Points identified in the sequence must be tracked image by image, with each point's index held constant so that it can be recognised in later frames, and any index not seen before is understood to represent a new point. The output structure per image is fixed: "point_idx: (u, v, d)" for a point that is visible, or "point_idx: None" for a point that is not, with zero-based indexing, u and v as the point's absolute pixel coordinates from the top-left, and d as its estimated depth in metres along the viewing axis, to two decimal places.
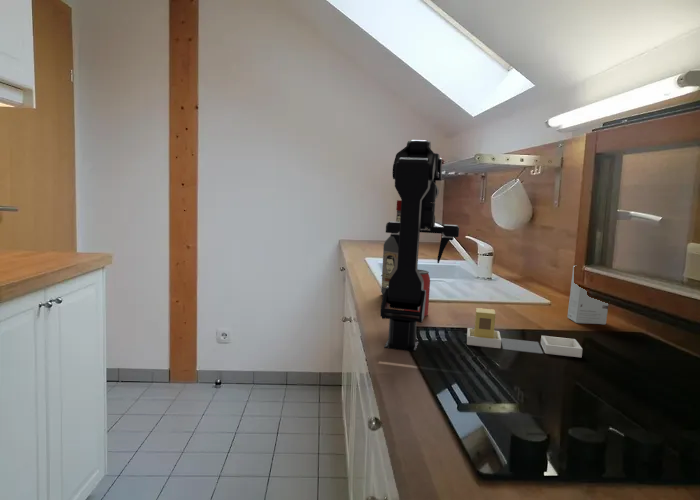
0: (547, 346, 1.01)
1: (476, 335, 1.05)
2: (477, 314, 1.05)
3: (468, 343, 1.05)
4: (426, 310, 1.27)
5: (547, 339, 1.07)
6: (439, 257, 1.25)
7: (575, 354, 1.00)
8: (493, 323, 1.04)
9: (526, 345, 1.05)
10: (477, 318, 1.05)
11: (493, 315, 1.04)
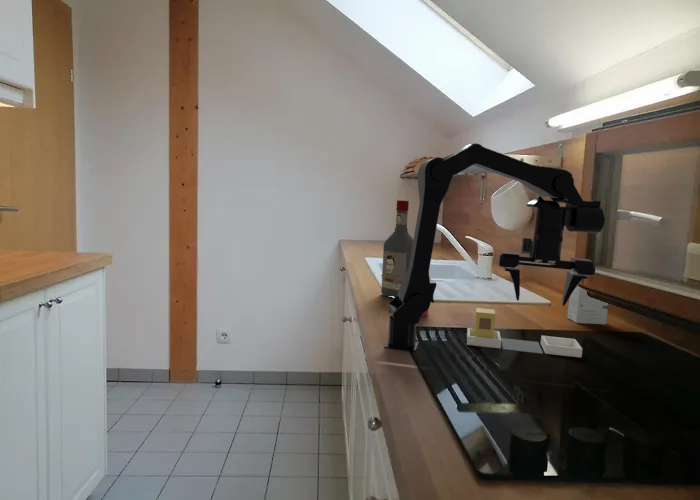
0: (547, 346, 1.01)
1: (476, 335, 1.05)
2: (477, 314, 1.05)
3: (468, 343, 1.05)
4: None
5: (547, 339, 1.07)
6: (566, 299, 1.01)
7: (575, 354, 1.00)
8: (493, 323, 1.04)
9: (526, 345, 1.05)
10: (477, 318, 1.05)
11: (493, 315, 1.04)
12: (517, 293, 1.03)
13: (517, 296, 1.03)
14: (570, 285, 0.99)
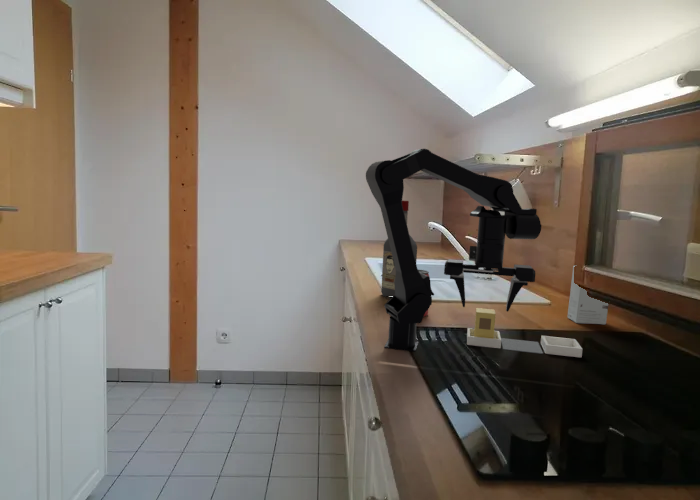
0: (547, 346, 1.01)
1: (476, 335, 1.05)
2: (477, 314, 1.05)
3: (468, 343, 1.05)
4: None
5: (547, 339, 1.07)
6: (509, 305, 1.04)
7: (575, 354, 1.00)
8: (493, 323, 1.04)
9: (526, 345, 1.05)
10: (477, 318, 1.05)
11: (493, 315, 1.04)
12: (463, 300, 1.06)
13: (463, 303, 1.06)
14: (512, 291, 1.02)
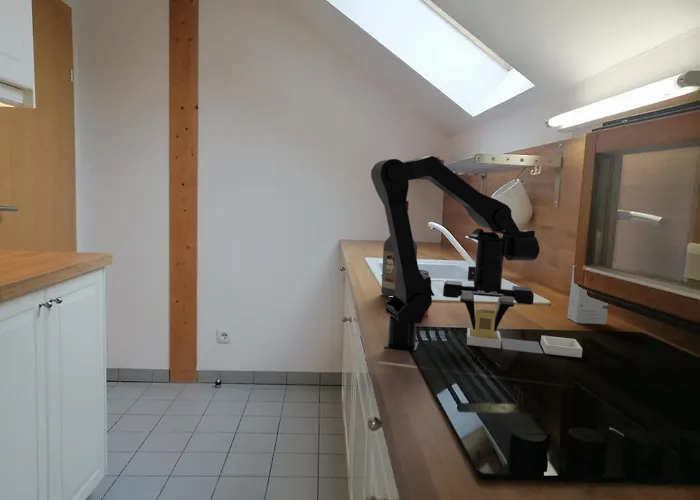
0: (547, 346, 1.01)
1: (476, 335, 1.05)
2: (477, 314, 1.05)
3: (468, 343, 1.05)
4: None
5: (547, 339, 1.07)
6: (496, 325, 1.05)
7: (575, 354, 1.00)
8: (493, 323, 1.04)
9: (526, 345, 1.05)
10: (477, 318, 1.05)
11: (493, 315, 1.04)
12: (473, 323, 1.06)
13: (473, 325, 1.07)
14: (498, 312, 1.04)
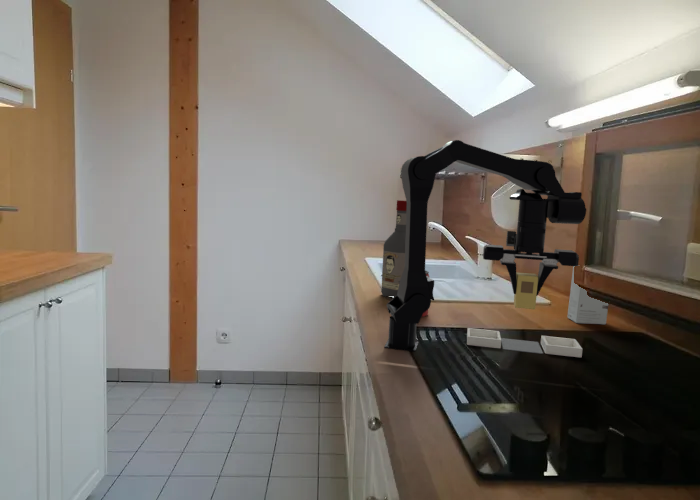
0: (547, 346, 1.01)
1: (518, 299, 1.03)
2: (519, 277, 1.02)
3: (468, 343, 1.05)
4: None
5: (547, 339, 1.07)
6: (538, 289, 1.02)
7: (575, 354, 1.00)
8: (535, 286, 1.01)
9: (526, 345, 1.05)
10: (519, 281, 1.02)
11: (536, 278, 1.01)
12: (514, 287, 1.03)
13: (514, 290, 1.04)
14: (541, 275, 1.01)
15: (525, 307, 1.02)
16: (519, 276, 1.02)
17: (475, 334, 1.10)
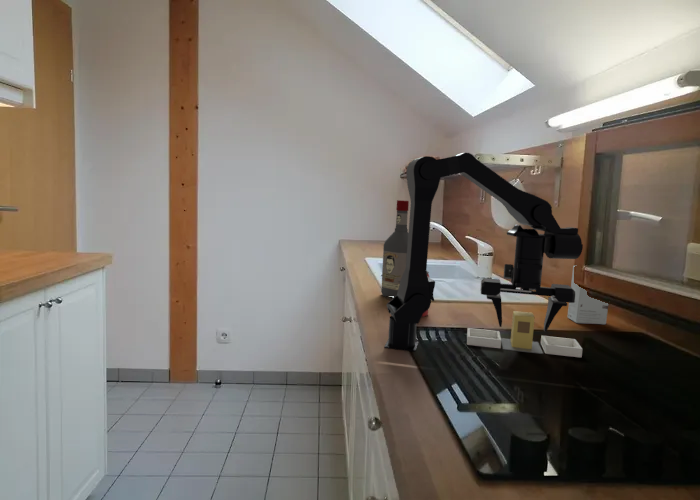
0: (547, 346, 1.01)
1: (514, 339, 1.04)
2: (515, 317, 1.03)
3: (468, 343, 1.05)
4: None
5: (547, 339, 1.07)
6: (547, 325, 1.03)
7: (575, 354, 1.00)
8: (532, 326, 1.03)
9: None
10: (515, 321, 1.03)
11: (532, 318, 1.02)
12: (500, 320, 1.05)
13: (500, 323, 1.05)
14: (551, 312, 1.01)
15: (522, 347, 1.03)
16: (516, 316, 1.03)
17: (475, 334, 1.10)
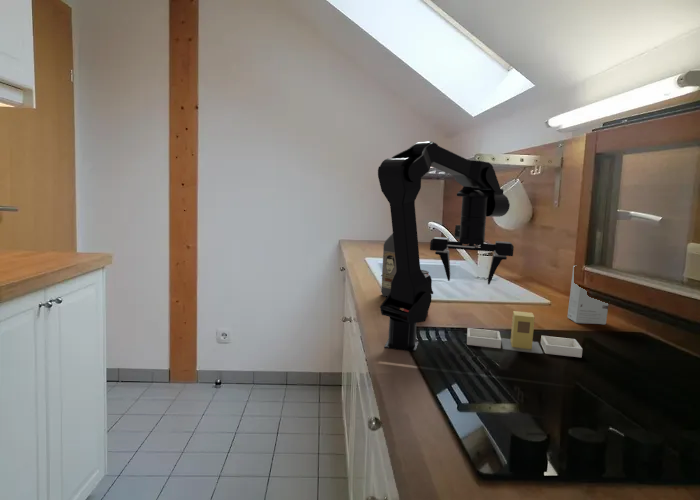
0: (547, 346, 1.01)
1: (514, 339, 1.04)
2: (515, 317, 1.03)
3: (468, 343, 1.05)
4: None
5: (547, 339, 1.07)
6: (490, 278, 1.12)
7: (575, 354, 1.00)
8: (532, 326, 1.03)
9: None
10: (515, 321, 1.03)
11: (532, 318, 1.02)
12: (448, 274, 1.15)
13: (448, 277, 1.15)
14: (492, 265, 1.11)
15: (522, 347, 1.03)
16: (516, 316, 1.03)
17: (475, 334, 1.10)
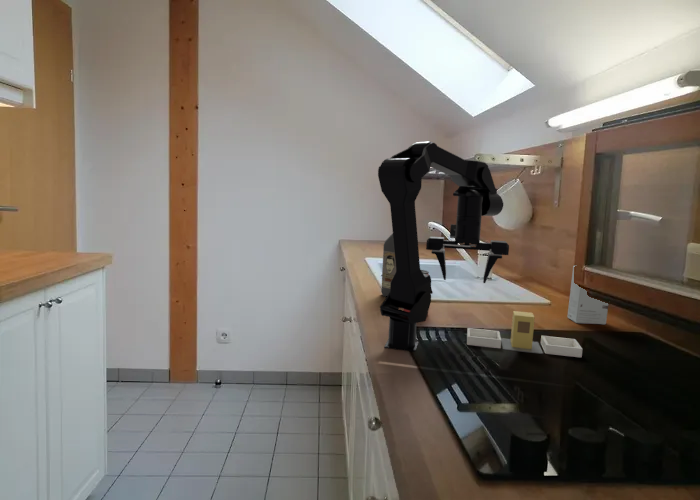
0: (547, 346, 1.01)
1: (514, 339, 1.04)
2: (515, 317, 1.03)
3: (468, 343, 1.05)
4: None
5: (547, 339, 1.07)
6: (486, 277, 1.13)
7: (575, 354, 1.00)
8: (532, 326, 1.03)
9: None
10: (515, 321, 1.03)
11: (532, 318, 1.02)
12: (444, 273, 1.16)
13: (444, 276, 1.16)
14: (488, 264, 1.12)
15: (522, 347, 1.03)
16: (516, 316, 1.03)
17: (475, 334, 1.10)
